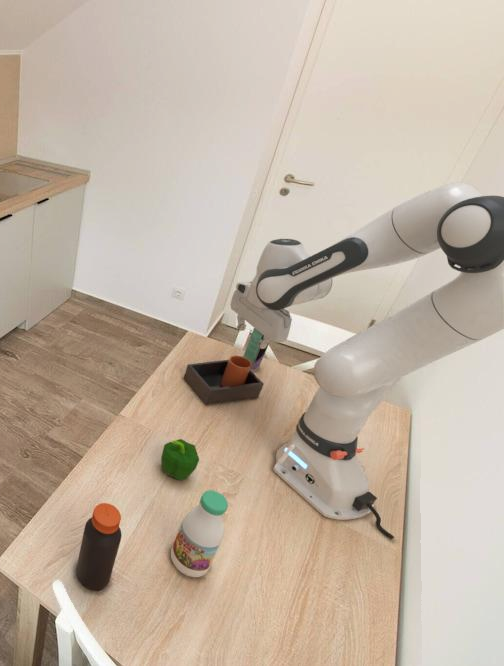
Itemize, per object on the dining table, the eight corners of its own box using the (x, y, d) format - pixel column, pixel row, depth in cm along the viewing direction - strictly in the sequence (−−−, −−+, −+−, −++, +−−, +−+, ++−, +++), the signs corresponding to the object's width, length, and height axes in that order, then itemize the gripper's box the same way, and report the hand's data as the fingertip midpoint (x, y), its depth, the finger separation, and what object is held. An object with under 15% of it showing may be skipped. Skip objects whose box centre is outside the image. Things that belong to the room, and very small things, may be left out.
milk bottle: (178, 536, 103) (202, 476, 92) (213, 558, 99) (243, 497, 88) (163, 562, 98) (187, 501, 87) (200, 586, 94) (229, 526, 83)
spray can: (260, 372, 152) (282, 320, 141) (242, 370, 153) (262, 318, 142) (256, 362, 157) (277, 311, 146) (238, 360, 158) (258, 308, 147)
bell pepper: (197, 470, 119) (208, 442, 113) (185, 490, 113) (195, 462, 108) (166, 453, 123) (174, 425, 117) (152, 472, 118) (161, 444, 112)
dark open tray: (258, 397, 142) (264, 383, 139) (205, 405, 139) (210, 390, 136) (232, 372, 152) (238, 358, 149) (183, 378, 149) (187, 364, 146)
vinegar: (69, 566, 97) (80, 505, 86) (97, 554, 99) (112, 493, 88) (87, 597, 92) (101, 537, 81) (116, 584, 94) (134, 523, 83)
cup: (246, 390, 144) (256, 366, 139) (228, 392, 143) (237, 369, 138) (234, 377, 149) (243, 354, 144) (216, 379, 148) (225, 356, 143)
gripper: (303, 313, 121) (285, 357, 128) (252, 278, 137) (238, 319, 145) (282, 316, 120) (265, 360, 127) (233, 280, 136) (220, 321, 144)
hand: (250, 338), depth 136 cm, fingers open, 8 cm apart
